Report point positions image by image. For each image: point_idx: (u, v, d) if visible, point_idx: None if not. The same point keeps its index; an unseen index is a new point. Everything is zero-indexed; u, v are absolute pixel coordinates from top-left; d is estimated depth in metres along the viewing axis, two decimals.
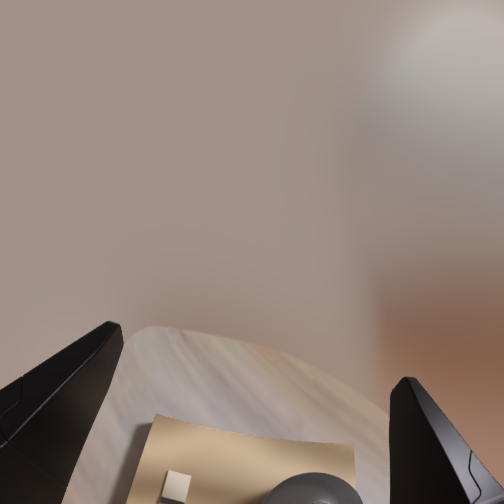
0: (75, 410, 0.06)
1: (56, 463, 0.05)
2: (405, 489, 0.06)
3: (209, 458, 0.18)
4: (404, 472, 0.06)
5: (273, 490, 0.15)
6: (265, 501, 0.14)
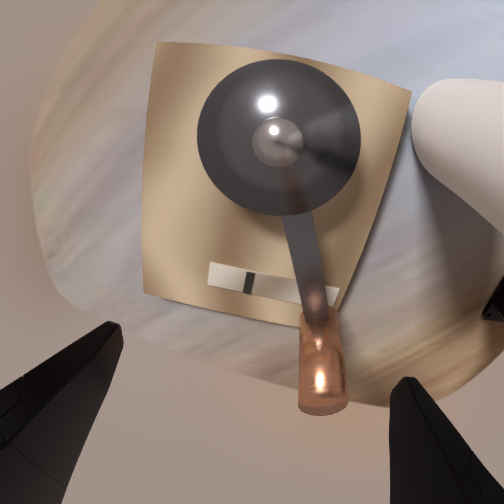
0: (75, 410, 0.06)
1: (56, 463, 0.05)
2: (405, 489, 0.06)
3: (182, 241, 0.18)
4: (404, 472, 0.06)
5: (224, 192, 0.14)
6: (242, 205, 0.14)
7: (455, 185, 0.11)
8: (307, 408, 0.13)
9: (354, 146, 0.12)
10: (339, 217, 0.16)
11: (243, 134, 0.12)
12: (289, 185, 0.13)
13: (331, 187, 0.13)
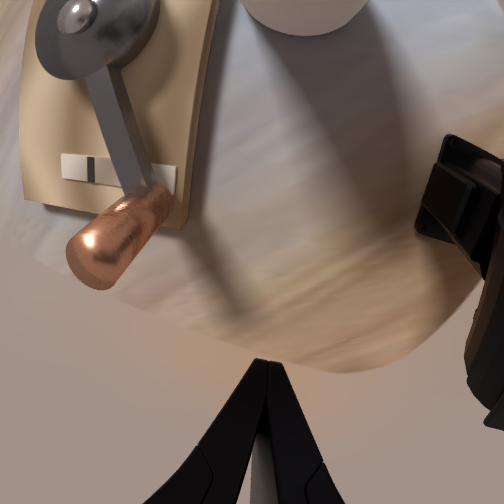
0: None
1: None
2: (255, 491, 0.06)
3: (43, 138, 0.15)
4: (256, 470, 0.06)
5: (48, 71, 0.11)
6: (59, 77, 0.11)
7: None
8: (79, 272, 0.10)
9: None
10: (160, 82, 0.13)
11: None
12: (88, 48, 0.10)
13: (120, 38, 0.10)
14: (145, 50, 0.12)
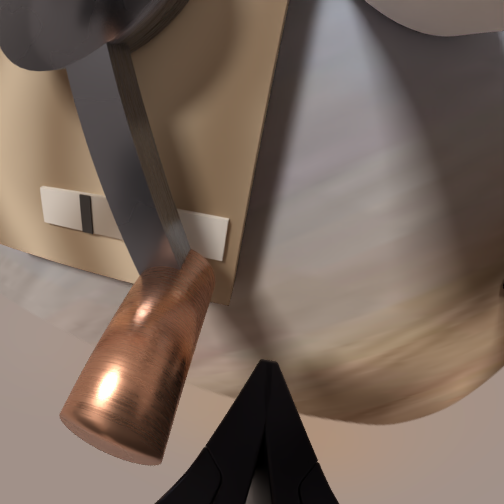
0: None
1: None
2: (250, 490, 0.06)
3: (14, 161, 0.10)
4: None
5: (10, 56, 0.05)
6: (24, 66, 0.06)
7: None
8: (90, 441, 0.05)
9: None
10: (204, 76, 0.08)
11: None
12: (75, 14, 0.05)
13: None
14: (178, 20, 0.07)
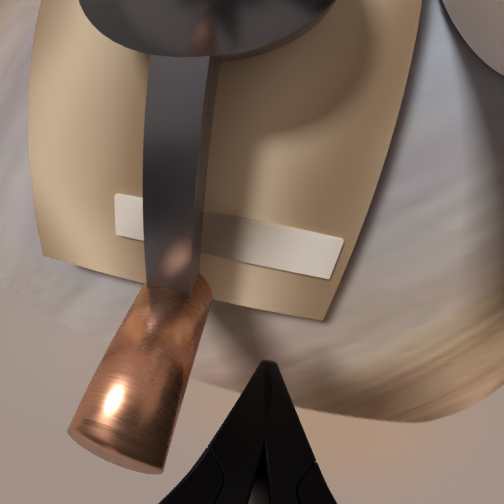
0: None
1: None
2: None
3: (76, 162, 0.09)
4: None
5: (84, 4, 0.05)
6: (98, 26, 0.05)
7: None
8: (87, 446, 0.05)
9: None
10: (337, 95, 0.08)
11: None
12: (186, 0, 0.05)
13: (266, 22, 0.05)
14: (312, 30, 0.07)
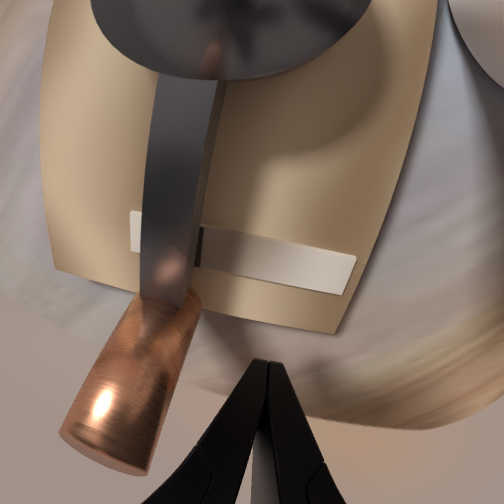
0: None
1: None
2: (256, 491, 0.06)
3: (90, 178, 0.10)
4: (257, 470, 0.06)
5: (96, 11, 0.05)
6: (109, 37, 0.05)
7: None
8: (76, 446, 0.05)
9: (353, 6, 0.04)
10: (353, 116, 0.08)
11: None
12: (199, 20, 0.05)
13: (276, 52, 0.05)
14: (328, 51, 0.07)
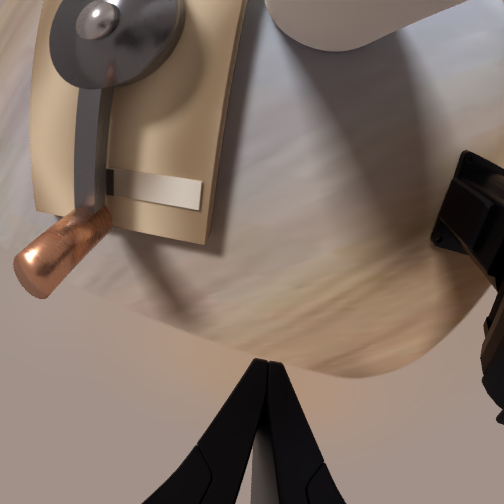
0: None
1: None
2: (256, 491, 0.06)
3: (57, 147, 0.15)
4: (256, 470, 0.06)
5: (53, 58, 0.10)
6: (58, 71, 0.11)
7: (277, 6, 0.08)
8: (20, 277, 0.11)
9: (156, 37, 0.10)
10: (185, 94, 0.13)
11: None
12: (93, 61, 0.10)
13: (123, 70, 0.11)
14: (169, 59, 0.12)
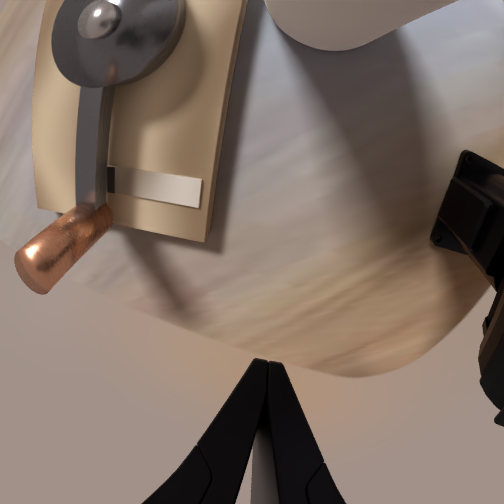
0: None
1: None
2: (256, 491, 0.06)
3: (59, 145, 0.15)
4: (256, 470, 0.06)
5: (55, 57, 0.10)
6: (60, 70, 0.11)
7: (276, 6, 0.08)
8: (21, 272, 0.11)
9: (157, 36, 0.10)
10: (186, 92, 0.13)
11: None
12: (95, 59, 0.11)
13: (124, 69, 0.11)
14: (170, 58, 0.12)
